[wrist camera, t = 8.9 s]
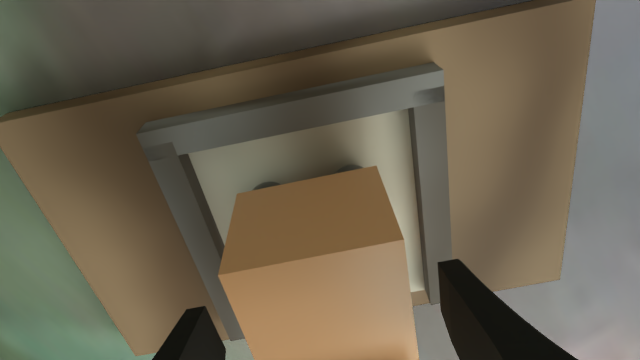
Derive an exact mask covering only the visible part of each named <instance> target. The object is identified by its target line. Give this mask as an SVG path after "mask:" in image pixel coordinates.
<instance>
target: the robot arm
mask: <svg viewBox="0 0 640 360" xmlns="http://www.w3.org/2000/svg"><path fill="white" fill-rule="evenodd" d="M437 263H438V277H439V292H440V306H441V312H442V315H443V318H444V321H445V324H446V327H447V330H448V333H449V336H450V339H451V341H452V344H453V346H454V348H455V350H456V353H457V355H458V357H459V359H460V360H578V359H576V358H575V357H573V356H572V355H570V354H569V353H568V352H566V351H565V350H563V349H562V348H560V347H559V346H558V345H556V344H555V343H553V342H552V341H551V340H549V339H548V338H547V337H545V336H544V335H543V334H542V333H540V332H539V331H538V330H536V329H535V328H534V327H533V326H531V325H530V324H529V323H528V322H526V321H525V320H524V319H523V318H522V317H520V316H519V315H518V314H517V313H516V312H514V311H513V310H512V309H511V308H510V307H509V306H508V305H506V304H505V303H504V302H503V301H502V300H501V299H500V298H498V297H497V296H496V295H495V294H494V293H493V292H492V291H491V290H490V289H489V288H488V287H487V286H486V285H485V284H484V283H483V282H481V281H480V280H479V279H478V278H477V277H476V276H475V275H474V274H473V273H472V272H471V270H470V269H469V268H468V267H467V266H466V265H465V264H464V263H463V262H462V261H461V260H459V259H453V260H447V261H442V262H437ZM225 353H226V349H225V347H224V344H223V342H222V340H221V338H220V336H219V334H218V332H217V330H216V327H215V325H214V323H213V321H212V319H211V317H210V315H209V313H208V310H207V308H206V306H201V307H196V308H190V309H186V310H185V312H184V313H183V315H182V316H181V318H180V319H179V321H178V322H177V324H176V325H175V327H174V328H173V330H172V331H171V332H170V334H169V335H168V337H167V338H166V340H165V341H164V343H163V344H162V346H161V347H160V349H159V350H158V352H157V353H156V355H155V356H154V358H153V359H152V360H225Z"/></svg>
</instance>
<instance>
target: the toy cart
mask: <svg viewBox="0 0 640 360" xmlns="http://www.w3.org/2000/svg"><path fill="white" fill-rule="evenodd" d="M218 277H219V279H220V281H221V284H222V286H223V288H224V291H225V293H226V295H227V297H228V300H229V302H230V304H231V307H232V309H233V311H234V314H235V316H236V318H237V320H238V323H239V325H240V327H241V330H242V332H243V334H244V337H245V339H246V341H247V343H248V346H249V348H250V350H251V353H252V355H253V357H254V359H255V360H419V355H418V347H417V339H416V331H415V323H414V315H413V307H412V299H411V291H410V283H409V275H408V267H407V259H406V250H405V242H404V238H403V235H402V232H401V230H400V227H399V224H398V222H397V219H396V216H395V214H394V211H393V208H392V206H391V203H390V200H389V198H388V195H387V192H386V190H385V187H384V184H383V182H382V179H381V176H380V174H379V171H378V168H377V166H371V167H366V168H364V167H362V166H359V165H347V166H344V167H342V168H340V169H339V170H338V171H336V173H335V174H331V175H327V176H322V177H317V178H312V179H307V180H302V181H297V182H292V183H287V184H282V185H281V184H279V183H277V182H271V181H269V182H263V183H261V184H259V185H257V186H256V187H255V188H254V189H253V190H252V191H248V192H243V193H238V194H237V195H236V200H235V204H234V208H233V213H232V217H231V221H230V226H229V230H228V234H227V238H226V243H225V247H224V251H223V256H222V260H221V264H220V269H219V273H218Z"/></svg>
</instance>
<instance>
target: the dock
mask: <svg viewBox="0 0 640 360" xmlns="http://www.w3.org/2000/svg"><path fill="white" fill-rule="evenodd" d="M595 3H596V0H533V1H528V2H523V3H519V4H514V5H509V6H505V7H500V8H495V9H491V10H486V11H481V12H477V13H472V14H467V15H463V16H458V17H453V18H449V19H444V20H439V21H435V22H430V23H425V24H421V25H416V26H411V27H407V28H402V29H397V30H393V31H388V32H383V33H379V34H374V35H369V36H365V37H360V38H355V39H351V40H346V41H341V42H337V43H332V44H327V45H323V46H318V47H313V48H309V49H304V50H299V51H295V52H290V53H285V54H281V55H276V56H271V57H267V58H262V59H257V60H253V61H248V62H243V63H239V64H234V65H229V66H225V67H220V68H215V69H211V70H206V71H201V72H197V73H192V74H187V75H183V76H178V77H173V78H169V79H164V80H159V81H155V82H150V83H145V84H141V85H136V86H131V87H127V88H122V89H117V90H113V91H108V92H103V93H99V94H94V95H89V96H85V97H80V98H75V99H71V100H66V101H61V102H57V103H52V104H47V105H43V106H38V107H33V108H29V109H24V110H19V111H15V112H10V113H7V114H5V115H4V116H2V117H0V147H1V149H2V151H3V152H4V154H5V155H6V157H7V158H8V160H9V161H10V163H11V164H12V166H13V167H14V169H15V171H16V172H17V174H18V175H19V177H20V178H21V180H22V181H23V183H24V184H25V186H26V188H27V189H28V191H29V192H30V194H31V195H32V197H33V198H34V200H35V201H36V203H37V205H38V206H39V208H40V209H41V211H42V212H43V214H44V215H45V217H46V218H47V220H48V222H49V223H50V225H51V226H52V228H53V229H54V231H55V232H56V234H57V235H58V237H59V239H60V240H61V242H62V243H63V245H64V246H65V248H66V249H67V251H68V252H69V254H70V256H71V257H72V259H73V260H74V262H75V263H76V265H77V266H78V268H79V269H80V271H81V273H82V274H83V276H84V277H85V279H86V280H87V282H88V283H89V285H90V286H91V288H92V289H93V291H94V293H95V294H96V296H97V297H98V299H99V300H100V302H101V303H102V305H103V306H104V308H105V310H106V311H107V313H108V314H109V316H110V317H111V319H112V320H113V322H114V323H115V325H116V327H117V328H118V330H119V331H120V333H121V334H122V336H123V337H124V339H125V340H126V342H127V344H128V345H129V347H130V348H131V350H132V351H133V353H134V354H135V356H139V355H145V354H150V353H156V352H158V350H159V349H160V347H161V346H162V344H163V343H164V341H165V340H166V338H167V337H168V335H169V334H170V332H171V331H172V330H173V328H174V327H175V325H176V324H177V322H178V321H179V319H180V318H181V316H182V315H183V313H184V312H185V310H186V309H190V308H196V307H201V306H206V308H207V310H208V313H209V315H210V317H211V319H212V321H213V323H214V325H215V327H216V330H217V332H218V334H219V336H220V338H221V340H228V339H230V341H234V340H239V339H245V337H244V334H243V332H242V330H241V327H240V325H239V323H238V320H237V318H236V316H235V314H234V311H233V309H232V307H231V304H230V302H229V300H228V297H227V295H226V293H225V291H224V288H223V286H222V284H221V281H220V279H219V277H218V273H219V269H220V264H221V260H222V256H223V251H224V247H225V243H226V238H227V234H228V230H229V226H230V221H231V217H232V213H233V208H234V204H235V200H236V195H237V194H238V193H243V192H248V191H252V190H253V189H254V188H255V187H256V186H257V185H259V184H261V183H263V182H269V181H271V182H277V183H279V184H281V185H282V184H287V183H292V182H297V181H302V180H307V179H312V178H317V177H322V176H327V175H331V174H335V173H336V171H338V170H339V169H340V168H342V167H344V166H347V165H359V166H362V167H364V168H366V167H371V166H377V168H378V171H379V174H380V176H381V179H382V182H383V184H384V187H385V190H386V192H387V195H388V198H389V200H390V203H391V206H392V208H393V211H394V214H395V216H396V219H397V222H398V224H399V227H400V230H401V232H402V235H403V238H404V242H405V250H406V259H407V267H408V275H409V283H410V291H411V299H412V306H416V305H422V304H427V303H430V304H431V305H433V304H439V303H440V292H439V277H438V263H437V262H442V261H447V260H453V259H459V260H461V261H462V262H463V263H464V264H465V265H466V266H467V267H468V268H469V269H470V270H471V272H472V273H473V274H474V275H475V276H476V277H477V278H478V279H479V280H480V281H481V282H483V283H484V284H485V285H486V286H487V287H488V288H489V289H490V290H491V291H492V292H494V291H499V290H505V289H510V288H516V287H521V286H527V285H532V284H538V283H543V282H549V281H554V280H560V274H561V267H562V259H563V251H564V243H565V236H566V228H567V220H568V212H569V205H570V197H571V189H572V181H573V174H574V166H575V158H576V150H577V143H578V135H579V127H580V119H581V112H582V104H583V96H584V88H585V81H586V73H587V65H588V57H589V50H590V42H591V34H592V26H593V19H594V11H595Z"/></svg>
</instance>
